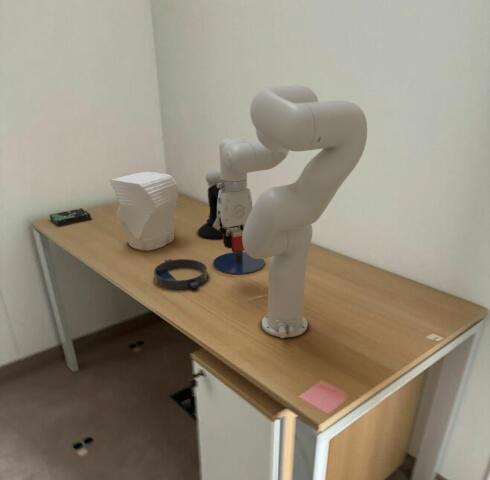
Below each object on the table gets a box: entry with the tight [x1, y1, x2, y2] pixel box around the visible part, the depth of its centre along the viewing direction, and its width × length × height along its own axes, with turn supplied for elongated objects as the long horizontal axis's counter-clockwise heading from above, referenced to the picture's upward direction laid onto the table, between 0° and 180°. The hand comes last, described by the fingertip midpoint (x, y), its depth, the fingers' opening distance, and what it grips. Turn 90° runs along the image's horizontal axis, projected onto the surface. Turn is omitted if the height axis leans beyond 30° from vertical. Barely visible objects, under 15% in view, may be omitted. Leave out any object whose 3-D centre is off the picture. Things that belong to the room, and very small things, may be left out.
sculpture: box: [197, 169, 240, 240], centre depth 182 cm, size 15×24×25 cm, turn 34°
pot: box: [153, 258, 208, 291], centre depth 153 cm, size 17×23×4 cm
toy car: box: [222, 227, 245, 253], centre depth 141 cm, size 8×4×6 cm, turn 30°
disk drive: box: [49, 207, 92, 227], centre depth 205 cm, size 10×3×15 cm
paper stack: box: [109, 171, 179, 252], centre depth 176 cm, size 21×27×26 cm
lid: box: [212, 249, 266, 276], centre depth 162 cm, size 18×18×6 cm
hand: (235, 244), depth 142 cm, fingers closed on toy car, 4 cm apart
